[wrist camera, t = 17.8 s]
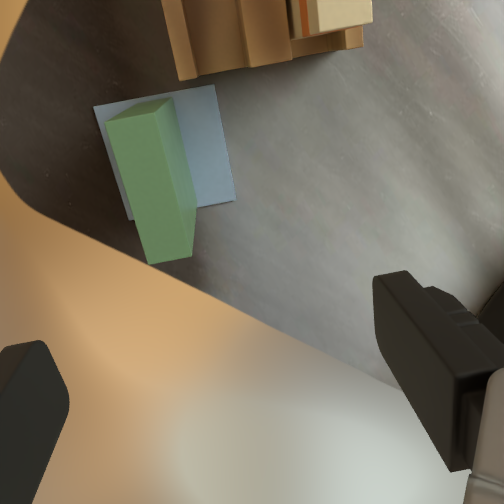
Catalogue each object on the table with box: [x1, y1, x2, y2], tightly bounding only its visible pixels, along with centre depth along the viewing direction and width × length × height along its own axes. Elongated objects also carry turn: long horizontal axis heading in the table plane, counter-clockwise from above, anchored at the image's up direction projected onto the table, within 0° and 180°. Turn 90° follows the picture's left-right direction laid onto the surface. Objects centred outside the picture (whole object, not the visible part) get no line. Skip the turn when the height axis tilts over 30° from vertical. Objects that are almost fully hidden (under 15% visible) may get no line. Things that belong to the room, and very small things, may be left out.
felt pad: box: [93, 84, 237, 220], centre depth 44 cm, size 12×12×1 cm
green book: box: [104, 97, 197, 265], centre depth 37 cm, size 4×11×14 cm, turn 9°
